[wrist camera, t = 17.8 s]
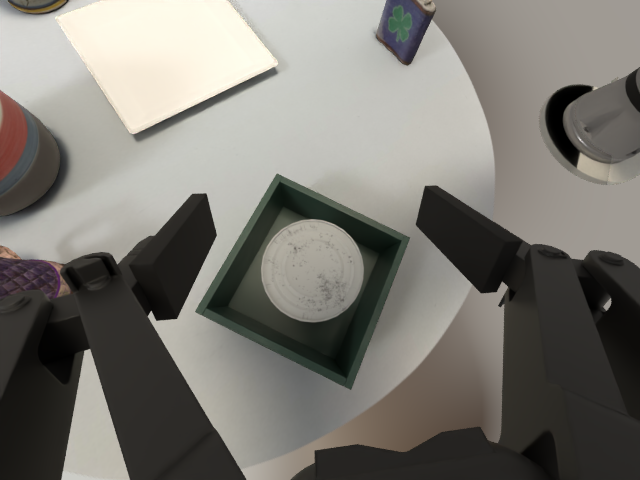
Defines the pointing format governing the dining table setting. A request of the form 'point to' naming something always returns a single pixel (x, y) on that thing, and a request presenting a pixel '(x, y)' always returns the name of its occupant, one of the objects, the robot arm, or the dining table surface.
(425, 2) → the flask
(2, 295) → the mug
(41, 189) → the vase
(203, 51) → the white flat square slab
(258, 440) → the dining table surface
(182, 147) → the dining table surface
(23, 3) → the apothecary jar
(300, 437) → the dining table surface
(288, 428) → the dining table surface
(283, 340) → the bin
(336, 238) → the white speckled cylinder
